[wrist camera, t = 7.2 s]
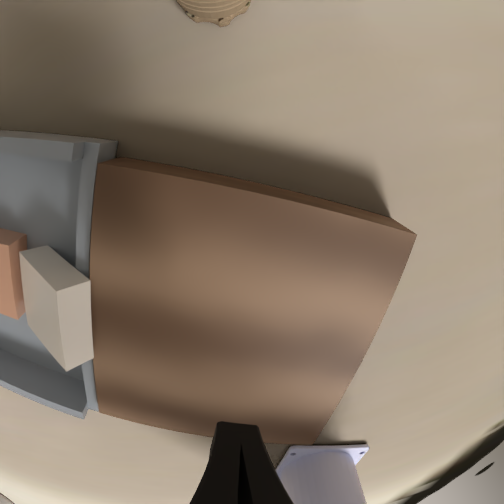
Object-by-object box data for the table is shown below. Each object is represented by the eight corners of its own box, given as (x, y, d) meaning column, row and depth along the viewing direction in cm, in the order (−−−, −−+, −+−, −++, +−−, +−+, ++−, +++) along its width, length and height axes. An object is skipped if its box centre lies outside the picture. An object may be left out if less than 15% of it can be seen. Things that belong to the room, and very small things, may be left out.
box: (107, 389, 21) (94, 422, 17) (-23, 339, 19) (-43, 362, 16) (118, 141, 15) (89, 144, 11) (-43, 129, 13) (-77, 134, 10)
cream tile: (93, 357, 16) (66, 371, 14) (52, 315, 18) (27, 324, 16) (90, 280, 14) (56, 291, 12) (47, 244, 16) (19, 251, 14)
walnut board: (306, 415, 22) (312, 444, 20) (110, 383, 21) (99, 412, 18) (391, 218, 17) (417, 234, 14) (120, 156, 15) (97, 163, 12)
